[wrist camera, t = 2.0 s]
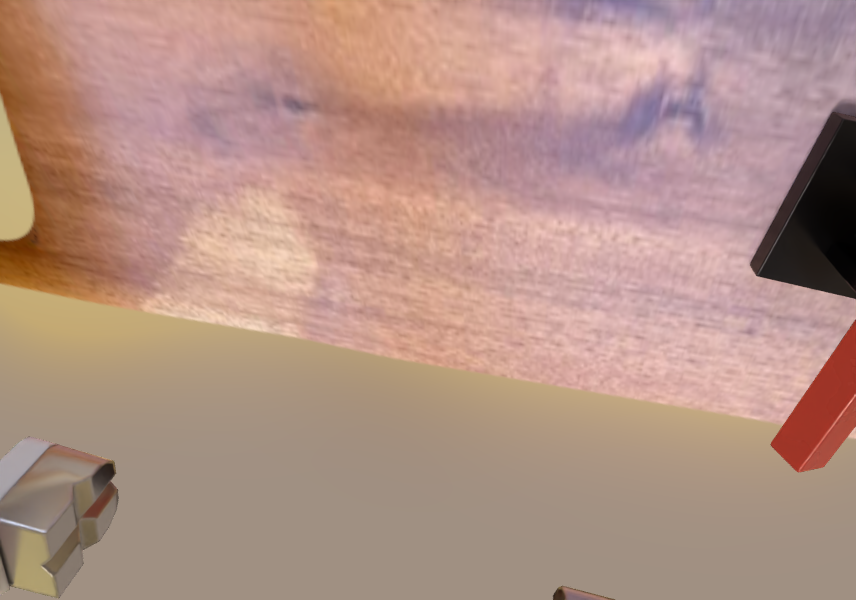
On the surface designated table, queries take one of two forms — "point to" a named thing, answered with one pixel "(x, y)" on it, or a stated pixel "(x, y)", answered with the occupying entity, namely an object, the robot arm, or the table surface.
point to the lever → (822, 412)
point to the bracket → (818, 218)
